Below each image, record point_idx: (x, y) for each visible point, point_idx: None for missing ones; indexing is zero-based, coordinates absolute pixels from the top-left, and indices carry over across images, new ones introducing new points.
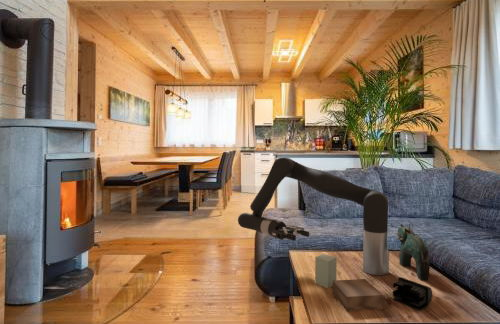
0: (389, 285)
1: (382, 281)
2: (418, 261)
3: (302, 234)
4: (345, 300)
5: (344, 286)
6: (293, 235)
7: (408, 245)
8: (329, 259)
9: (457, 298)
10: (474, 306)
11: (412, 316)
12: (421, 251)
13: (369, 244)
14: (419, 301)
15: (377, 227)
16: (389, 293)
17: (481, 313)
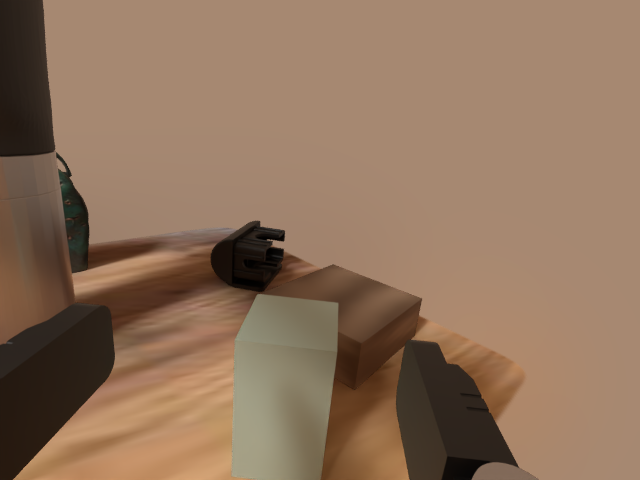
0: (165, 303)
1: (137, 316)
2: (77, 219)
3: (30, 441)
4: (414, 316)
5: (370, 312)
6: (440, 354)
7: None
8: (311, 304)
9: (178, 242)
10: (202, 234)
11: (314, 271)
12: (73, 185)
13: (48, 220)
14: (282, 249)
15: (50, 121)
16: (228, 298)
17: (225, 233)
